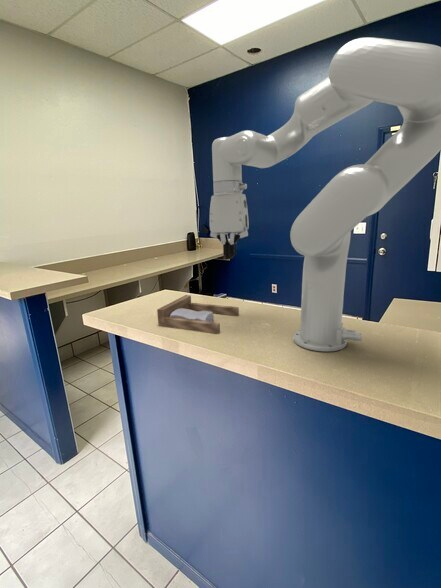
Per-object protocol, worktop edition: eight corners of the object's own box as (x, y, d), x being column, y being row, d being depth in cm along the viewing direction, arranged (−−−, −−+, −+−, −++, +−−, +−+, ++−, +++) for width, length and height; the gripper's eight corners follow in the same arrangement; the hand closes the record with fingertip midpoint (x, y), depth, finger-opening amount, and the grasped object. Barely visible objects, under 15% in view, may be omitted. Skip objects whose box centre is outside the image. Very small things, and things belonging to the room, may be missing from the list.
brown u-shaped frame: (238, 314, 99) (238, 299, 97) (217, 333, 84) (217, 316, 82) (186, 309, 106) (185, 295, 105) (158, 325, 91) (157, 309, 90)
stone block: (182, 321, 100) (166, 326, 90) (183, 306, 99) (167, 309, 90) (216, 326, 96) (203, 331, 86) (218, 311, 95) (205, 314, 86)
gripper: (258, 188, 83) (259, 257, 87) (207, 192, 88) (210, 256, 93) (250, 186, 76) (251, 261, 80) (196, 190, 81) (199, 259, 86)
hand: (229, 258), depth 87 cm, fingers closed
